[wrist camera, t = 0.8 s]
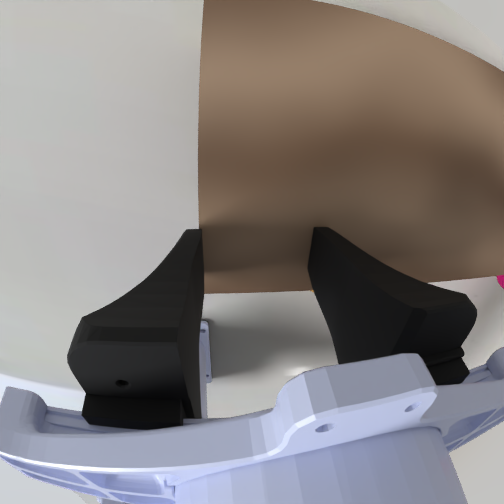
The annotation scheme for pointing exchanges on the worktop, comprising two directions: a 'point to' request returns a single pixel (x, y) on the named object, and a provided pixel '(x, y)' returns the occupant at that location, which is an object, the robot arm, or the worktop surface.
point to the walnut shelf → (343, 146)
